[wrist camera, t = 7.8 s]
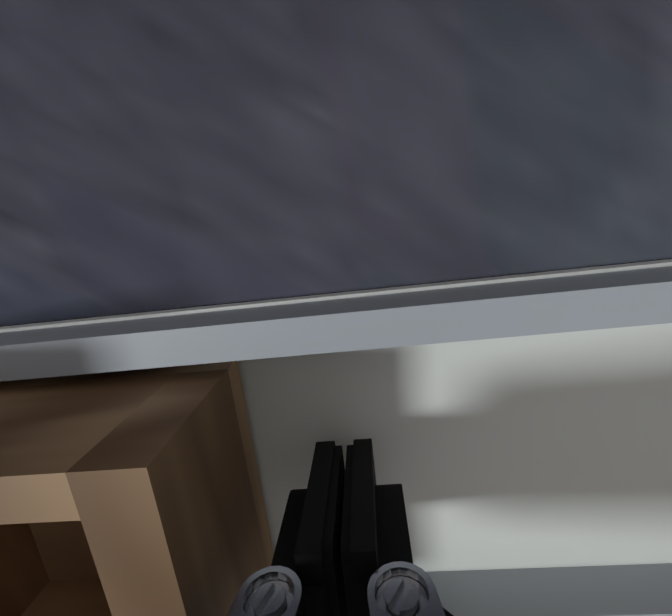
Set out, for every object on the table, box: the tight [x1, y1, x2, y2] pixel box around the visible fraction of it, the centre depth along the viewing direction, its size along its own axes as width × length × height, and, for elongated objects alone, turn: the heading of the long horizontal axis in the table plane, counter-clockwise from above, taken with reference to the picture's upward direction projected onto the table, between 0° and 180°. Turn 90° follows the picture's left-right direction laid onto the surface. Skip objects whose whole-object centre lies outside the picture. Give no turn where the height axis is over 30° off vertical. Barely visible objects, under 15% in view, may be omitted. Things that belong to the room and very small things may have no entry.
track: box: [0, 259, 672, 616], centre depth 9 cm, size 28×11×9 cm, turn 97°
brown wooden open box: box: [0, 361, 274, 616], centre depth 10 cm, size 9×8×5 cm
